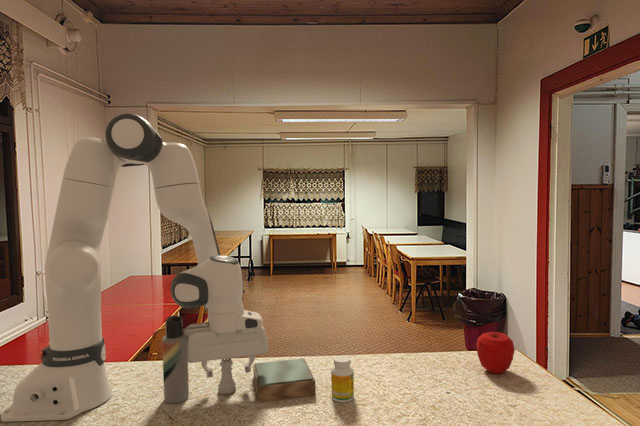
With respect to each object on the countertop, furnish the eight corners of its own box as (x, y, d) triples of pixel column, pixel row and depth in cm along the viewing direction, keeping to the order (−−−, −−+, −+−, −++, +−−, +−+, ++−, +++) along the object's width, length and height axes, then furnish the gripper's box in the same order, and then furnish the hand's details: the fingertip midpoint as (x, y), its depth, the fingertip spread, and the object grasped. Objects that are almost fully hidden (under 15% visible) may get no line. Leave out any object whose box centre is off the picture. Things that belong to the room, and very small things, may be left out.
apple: (485, 361, 124) (485, 323, 123) (519, 370, 117) (520, 330, 117) (469, 371, 117) (469, 332, 116) (505, 382, 110) (506, 340, 110)
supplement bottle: (330, 392, 106) (330, 354, 106) (352, 392, 106) (352, 354, 106) (332, 403, 101) (331, 363, 100) (355, 402, 101) (354, 362, 100)
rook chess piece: (228, 385, 112) (227, 354, 111) (240, 389, 109) (239, 358, 108) (214, 391, 108) (213, 360, 108) (225, 396, 105) (224, 364, 105)
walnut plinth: (257, 402, 102) (257, 385, 102) (253, 377, 116) (253, 362, 116) (315, 395, 105) (315, 379, 105) (304, 371, 119) (304, 357, 119)
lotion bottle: (182, 390, 109) (179, 312, 108) (193, 398, 105) (190, 316, 104) (160, 398, 105) (157, 317, 104) (170, 406, 101) (167, 322, 100)
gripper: (182, 328, 103) (185, 385, 103) (268, 319, 107) (270, 374, 108) (183, 321, 109) (186, 374, 110) (265, 312, 114) (267, 364, 114)
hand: (228, 374), depth 109 cm, fingers open, 8 cm apart
